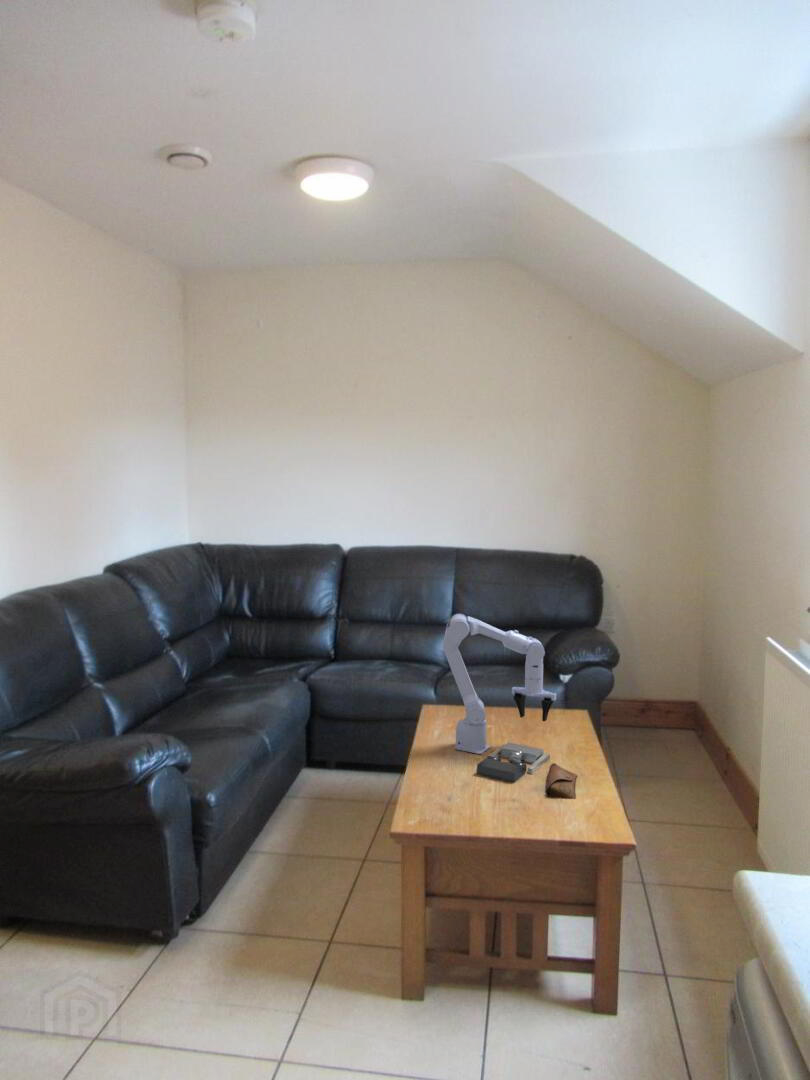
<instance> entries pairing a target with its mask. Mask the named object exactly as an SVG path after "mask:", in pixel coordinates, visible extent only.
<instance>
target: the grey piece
mask: <svg viewBox="0 0 810 1080" xmlns="http://www.w3.org/2000/svg"><path fill="white" fill-rule="evenodd" d="M503 745H504V746H502V745H501V746H502V747H501V746H500V747H501V754H500V756H499V758H504V759H508V761H509V762H510V763H513V762H514V761H516V762H521V763H526V764H531V765H532V764H533V763H535V762H536V761H537V760H538V759H539V758H540V757H542V756H543V755H544V754H545V751H544V750H545V749H544V748H538V747H532V746H527V745H524V744H518V743H514V742H506V743H505V744H503Z"/></svg>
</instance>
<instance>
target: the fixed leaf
mask: <svg viewBox="0 0 810 1080" xmlns="http://www.w3.org/2000/svg"><path fill="white" fill-rule="evenodd" d="M487 756H488V757H487ZM487 756H486V757H487V758H486V757H485V759H483V760H481V761H480V762H479V763H477V764H476V774H477V775H479V776H483V777H487V778H491V779H494V780H495V779H496V780H501V781H505V782H509V783H512V784H514V783H516V782H517V781H518V780H520V778H522V777H523V776H524V775H525V774H526V773H527V770H528V767H527V766H528V765H527V763H526V762H522V763H521V762H516V761H514V762H506V761H505V762H504V761H501V757H498V758H497V757H493V756H489V755H487Z"/></svg>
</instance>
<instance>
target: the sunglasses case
mask: <svg viewBox="0 0 810 1080" xmlns="http://www.w3.org/2000/svg"><path fill="white" fill-rule="evenodd" d="M548 768H549V769H548V775H547V781H546V789H545V790H546V791H545V794H546V796H547V798H552V799H553V798H555V799H565V800H576V799H577V796H576V782H577V778H578V774H576V773H574V772H572V771H569V770H568V769H565V768H564V767H561V766H560V765H558V764H557V763H555V762H554V763H552V764H550V766H549V767H548Z"/></svg>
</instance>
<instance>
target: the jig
mask: <svg viewBox="0 0 810 1080" xmlns="http://www.w3.org/2000/svg"><path fill="white" fill-rule="evenodd" d="M504 745H505V744H502V745H501V746H499V747H498V748H497V749H496V750H493V752H491V753H490V754H488V755H487V756H486V757H485V758H487V757H488V756H493V757H497V758H500V754H501V747H502V746H504ZM485 758H484V759H485ZM484 759H483V760H484ZM550 759H551V754H550V753H545V752H544V754H543V756H542V757H540V758H539V759H538V760H537V761H536V762H535V763H533V764H531V765H529V766H528V767H527V773H528V774H531V775H533V774H534V773H535V772H537V771H538V770H539V769H540V768H541V767H542V766H544V765H545V764H546V763H547V762H548V761H549V760H550Z"/></svg>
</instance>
